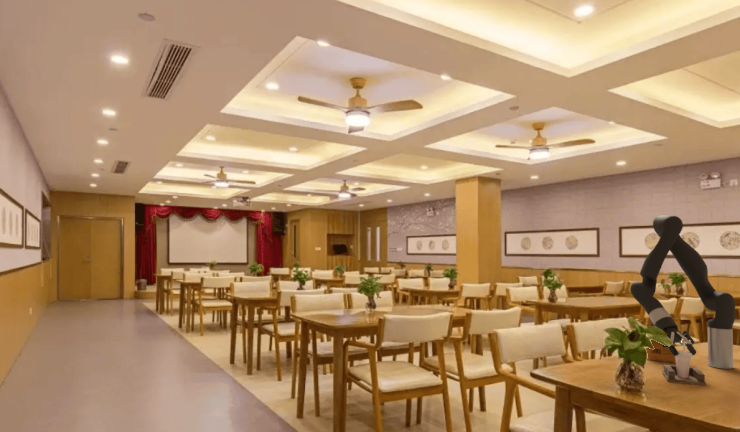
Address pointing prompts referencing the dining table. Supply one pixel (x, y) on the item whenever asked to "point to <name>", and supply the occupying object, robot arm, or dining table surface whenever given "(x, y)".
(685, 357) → the smoothie
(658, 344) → the coffee package
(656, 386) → the dining table surface
